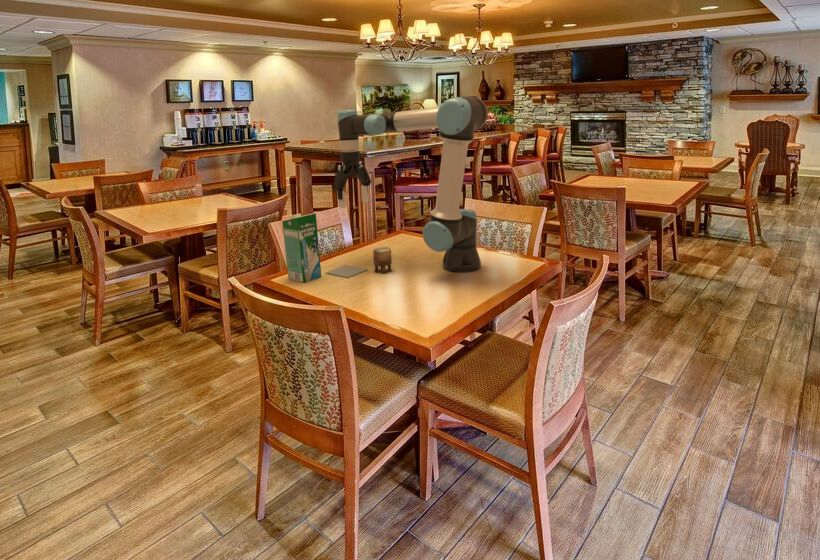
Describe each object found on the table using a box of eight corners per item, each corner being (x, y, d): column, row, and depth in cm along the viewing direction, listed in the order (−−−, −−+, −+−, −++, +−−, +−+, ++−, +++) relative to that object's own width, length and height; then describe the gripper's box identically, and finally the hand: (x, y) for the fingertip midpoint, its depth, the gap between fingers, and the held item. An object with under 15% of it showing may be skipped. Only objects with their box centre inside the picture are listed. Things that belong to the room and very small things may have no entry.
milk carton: (306, 272, 223) (300, 210, 215) (321, 276, 217) (316, 212, 210) (288, 278, 216) (281, 214, 208) (303, 283, 211) (297, 217, 203)
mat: (368, 270, 224) (368, 269, 224) (347, 278, 214) (347, 277, 214) (345, 265, 230) (345, 264, 230) (325, 273, 221) (325, 272, 221)
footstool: (395, 269, 222) (394, 248, 220) (384, 274, 217) (383, 252, 214) (381, 267, 226) (380, 246, 224) (370, 271, 221) (369, 250, 218)
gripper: (363, 147, 233) (367, 198, 239) (320, 154, 214) (325, 209, 220) (377, 148, 228) (380, 200, 235) (334, 154, 209) (339, 210, 216)
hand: (354, 204), depth 227 cm, fingers open, 13 cm apart
